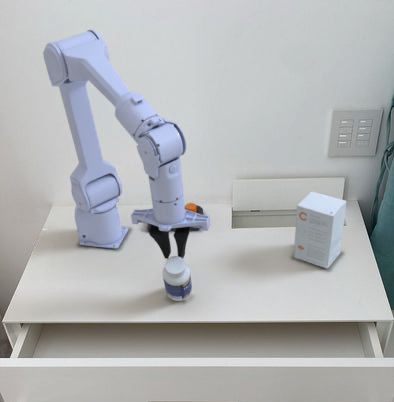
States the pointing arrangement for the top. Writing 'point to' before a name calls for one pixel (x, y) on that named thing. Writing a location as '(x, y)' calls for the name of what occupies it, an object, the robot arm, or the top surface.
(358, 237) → the top surface
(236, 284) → the top surface
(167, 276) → the pill bottle
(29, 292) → the top surface
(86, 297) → the top surface
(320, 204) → the small box
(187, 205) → the button
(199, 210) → the scale
